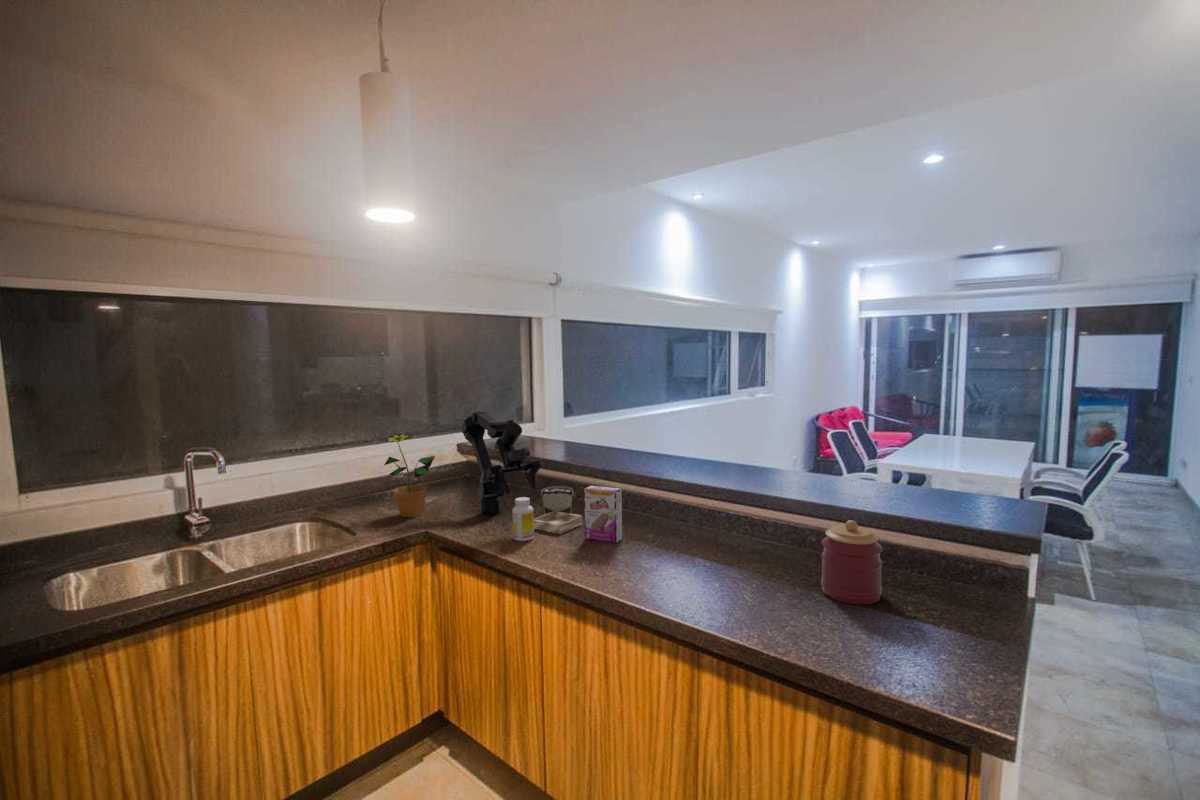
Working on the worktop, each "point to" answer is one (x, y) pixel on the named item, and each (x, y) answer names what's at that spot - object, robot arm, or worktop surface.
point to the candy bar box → (603, 514)
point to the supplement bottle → (523, 520)
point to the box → (557, 522)
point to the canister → (851, 564)
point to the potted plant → (410, 495)
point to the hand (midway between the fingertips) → (521, 491)
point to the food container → (557, 499)
